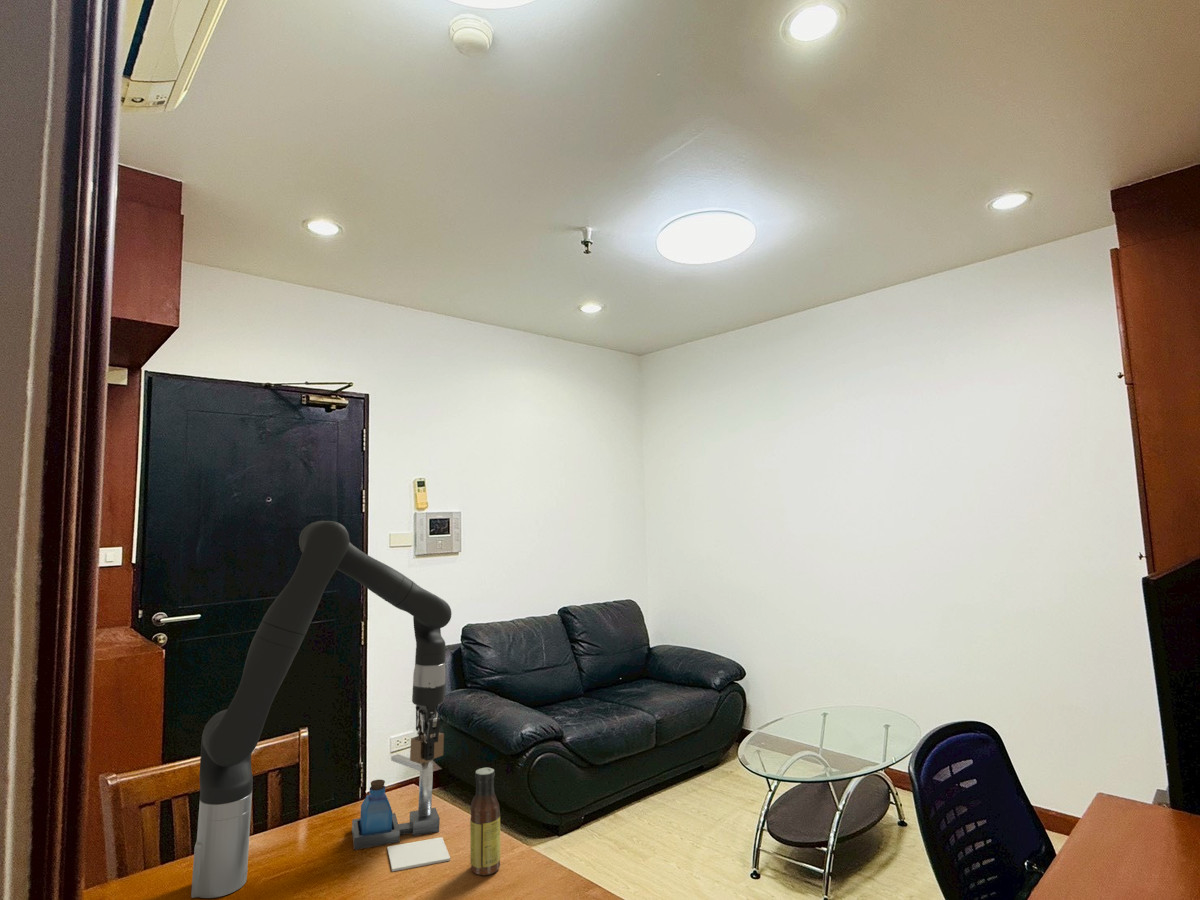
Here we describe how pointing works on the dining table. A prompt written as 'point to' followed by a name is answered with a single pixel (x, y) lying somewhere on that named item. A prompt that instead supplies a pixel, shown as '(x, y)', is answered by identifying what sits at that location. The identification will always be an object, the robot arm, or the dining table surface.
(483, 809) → the sauce bottle
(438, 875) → the dining table surface
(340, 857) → the dining table surface
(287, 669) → the robot arm
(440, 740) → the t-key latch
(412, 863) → the pad
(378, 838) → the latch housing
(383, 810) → the perfume bottle
